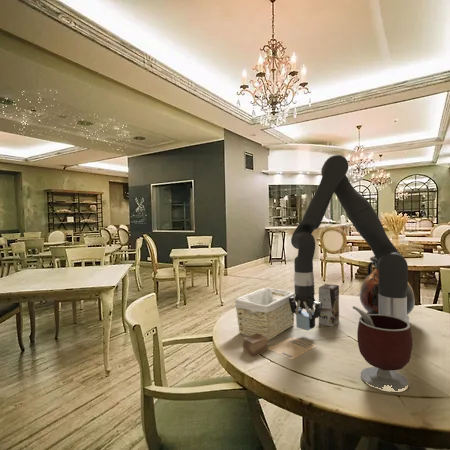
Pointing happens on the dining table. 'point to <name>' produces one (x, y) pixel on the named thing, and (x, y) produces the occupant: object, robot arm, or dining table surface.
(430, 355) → the dining table surface
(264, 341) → the walnut block
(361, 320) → the mate gourd
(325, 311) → the coffee box
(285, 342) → the letter
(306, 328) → the slate cube
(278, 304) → the storage basket
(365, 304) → the amphora vase
